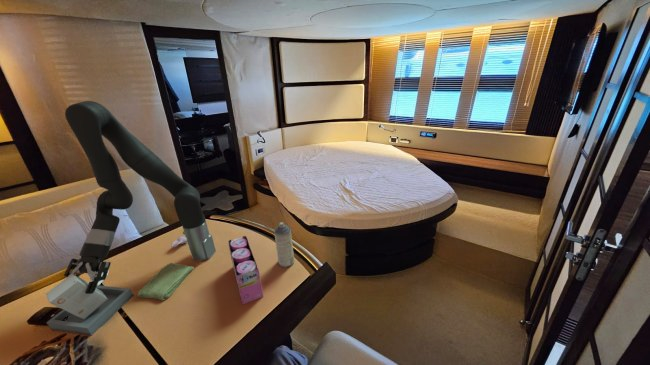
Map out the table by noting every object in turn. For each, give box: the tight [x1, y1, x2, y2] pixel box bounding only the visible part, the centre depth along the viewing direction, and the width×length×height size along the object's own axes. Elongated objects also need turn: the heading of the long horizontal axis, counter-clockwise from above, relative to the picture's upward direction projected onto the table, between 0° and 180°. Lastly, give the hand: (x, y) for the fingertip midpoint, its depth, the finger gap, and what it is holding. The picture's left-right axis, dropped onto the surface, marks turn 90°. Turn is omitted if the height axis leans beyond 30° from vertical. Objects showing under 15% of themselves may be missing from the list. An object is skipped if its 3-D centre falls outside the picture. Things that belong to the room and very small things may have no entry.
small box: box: [45, 274, 107, 319], centre depth 84 cm, size 8×6×13 cm
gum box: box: [227, 235, 264, 305], centre depth 97 cm, size 24×8×14 cm, turn 27°
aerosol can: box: [273, 221, 295, 268], centre depth 104 cm, size 7×7×20 cm
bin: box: [46, 284, 134, 336], centre depth 88 cm, size 16×16×4 cm
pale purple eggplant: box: [170, 230, 188, 248], centre depth 124 cm, size 6×6×15 cm
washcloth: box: [137, 262, 195, 301], centre depth 100 cm, size 13×18×3 cm
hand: (78, 292), depth 83 cm, fingers closed on small box, 8 cm apart
